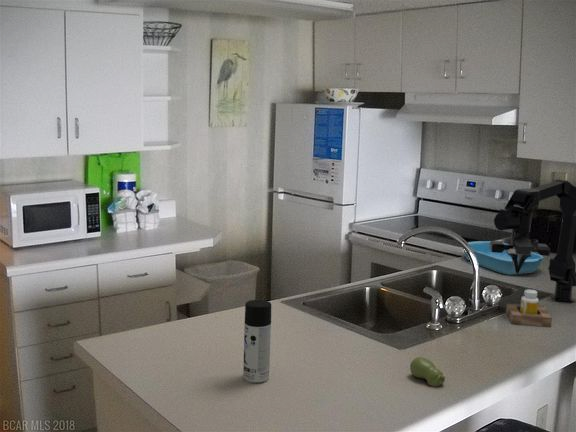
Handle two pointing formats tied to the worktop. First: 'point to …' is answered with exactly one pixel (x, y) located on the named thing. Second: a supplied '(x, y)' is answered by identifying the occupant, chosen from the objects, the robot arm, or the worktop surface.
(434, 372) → the pear
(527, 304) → the supplement bottle
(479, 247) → the casserole dish
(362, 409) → the worktop surface
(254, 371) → the spray can
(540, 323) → the walnut jig
